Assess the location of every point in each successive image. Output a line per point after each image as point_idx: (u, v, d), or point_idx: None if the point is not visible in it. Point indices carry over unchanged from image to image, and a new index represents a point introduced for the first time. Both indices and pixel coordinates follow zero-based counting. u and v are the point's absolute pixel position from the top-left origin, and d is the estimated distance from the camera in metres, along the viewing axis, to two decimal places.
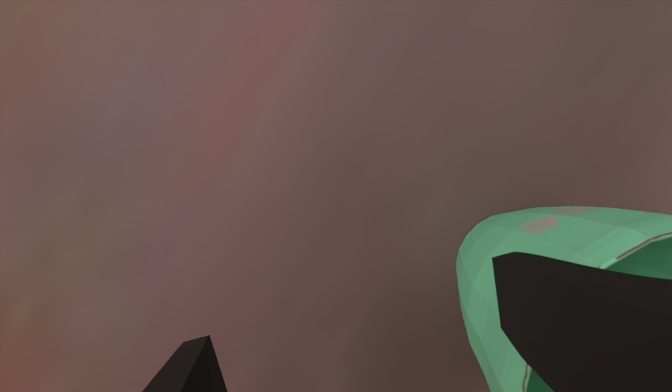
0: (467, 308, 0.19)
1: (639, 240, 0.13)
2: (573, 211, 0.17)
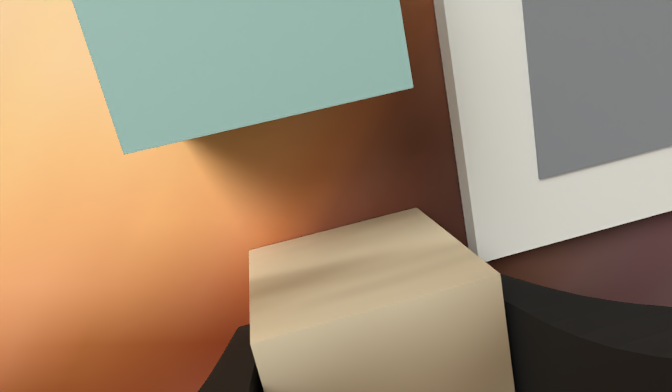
0: None
1: None
2: None
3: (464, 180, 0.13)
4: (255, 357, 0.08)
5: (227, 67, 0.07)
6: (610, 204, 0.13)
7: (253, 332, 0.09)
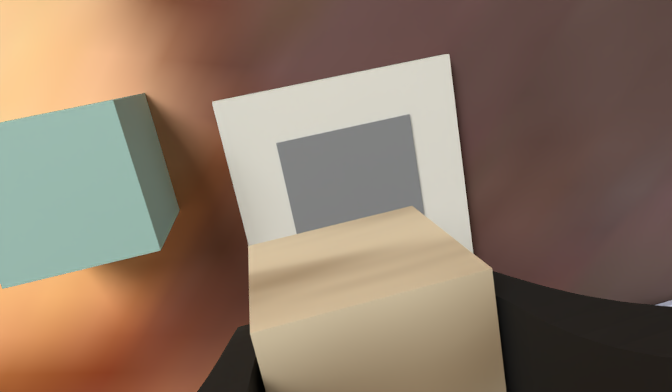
0: None
1: None
2: None
3: None
4: (254, 346, 0.08)
5: (56, 245, 0.14)
6: None
7: (252, 322, 0.09)
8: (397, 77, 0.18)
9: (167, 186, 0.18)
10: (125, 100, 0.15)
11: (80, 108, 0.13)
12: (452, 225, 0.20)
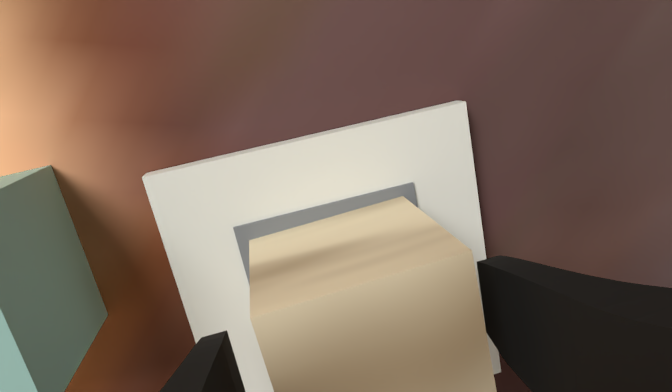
0: None
1: None
2: None
3: None
4: (255, 330, 0.09)
5: None
6: None
7: (253, 308, 0.10)
8: (396, 134, 0.14)
9: (84, 291, 0.13)
10: None
11: None
12: None
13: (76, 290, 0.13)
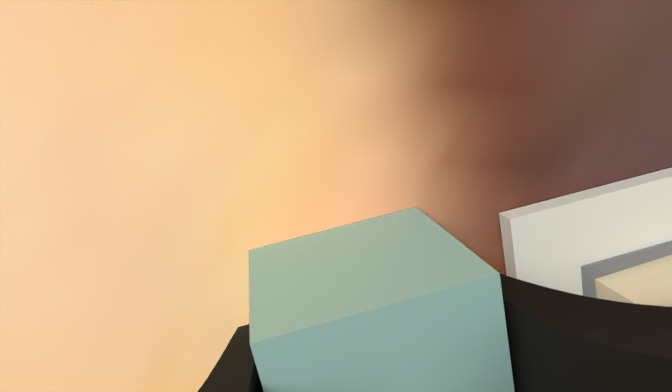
0: None
1: None
2: None
3: None
4: None
5: None
6: None
7: None
8: None
9: None
10: None
11: (453, 288, 0.09)
12: None
13: None
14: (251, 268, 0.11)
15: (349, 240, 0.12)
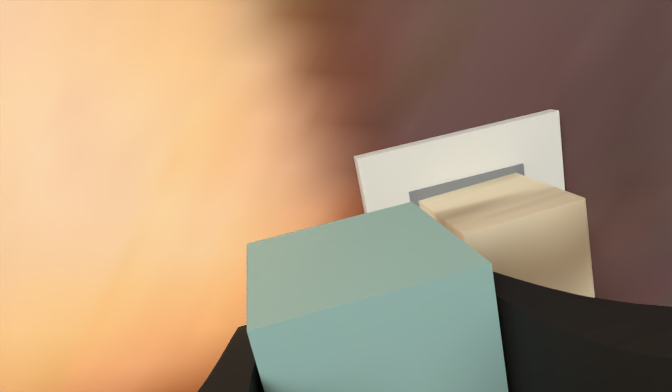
0: None
1: None
2: None
3: None
4: (466, 241, 0.16)
5: None
6: None
7: (461, 230, 0.17)
8: (513, 132, 0.21)
9: None
10: None
11: (446, 278, 0.09)
12: None
13: None
14: (249, 260, 0.11)
15: (345, 233, 0.12)
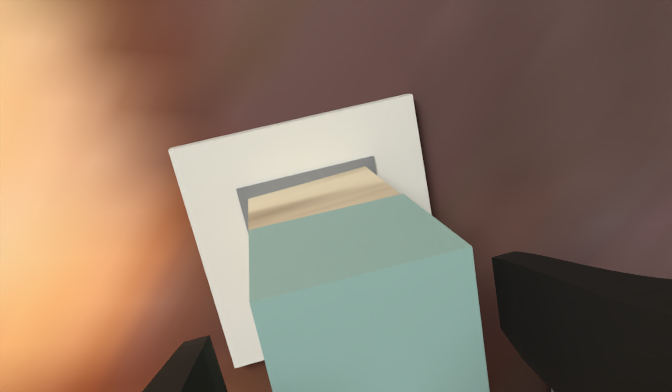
0: None
1: None
2: None
3: (219, 315, 0.19)
4: None
5: None
6: None
7: None
8: (359, 119, 0.18)
9: None
10: None
11: (430, 259, 0.10)
12: None
13: None
14: (251, 244, 0.12)
15: (340, 221, 0.13)
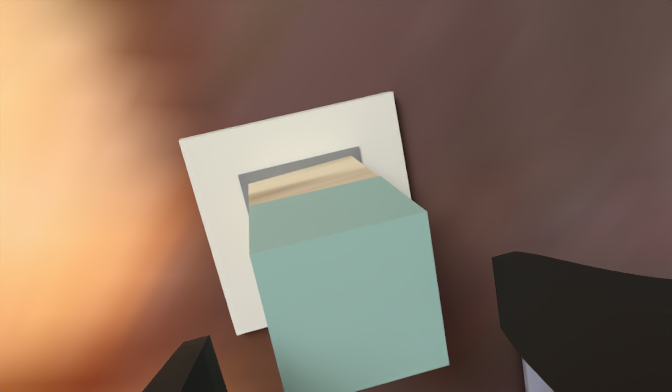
0: None
1: None
2: None
3: (223, 288, 0.22)
4: None
5: (348, 363, 0.13)
6: None
7: None
8: (346, 114, 0.21)
9: None
10: None
11: (393, 221, 0.12)
12: None
13: None
14: (250, 216, 0.15)
15: (326, 197, 0.15)
